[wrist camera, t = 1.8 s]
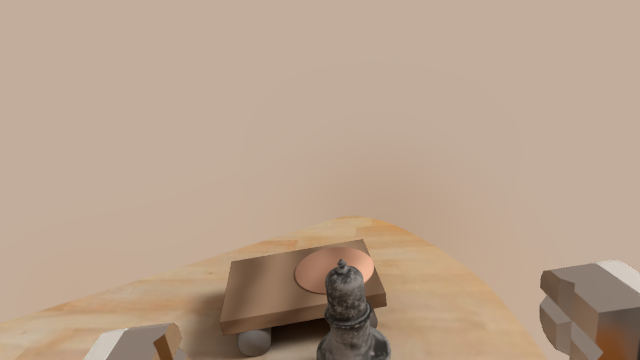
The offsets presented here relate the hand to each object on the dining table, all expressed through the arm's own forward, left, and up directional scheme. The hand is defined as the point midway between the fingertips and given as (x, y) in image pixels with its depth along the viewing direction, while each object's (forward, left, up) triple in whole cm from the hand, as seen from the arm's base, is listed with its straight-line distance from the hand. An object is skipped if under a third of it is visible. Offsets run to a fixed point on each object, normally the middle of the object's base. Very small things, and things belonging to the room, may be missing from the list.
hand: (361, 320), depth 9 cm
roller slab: (-2, +27, -21) cm, 35 cm away
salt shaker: (+1, +17, -21) cm, 28 cm away
